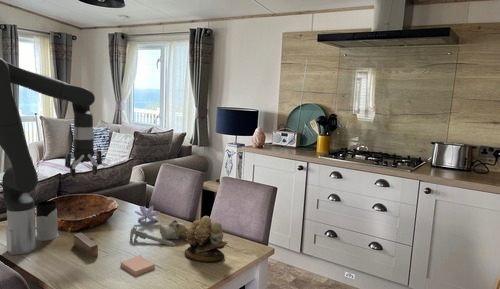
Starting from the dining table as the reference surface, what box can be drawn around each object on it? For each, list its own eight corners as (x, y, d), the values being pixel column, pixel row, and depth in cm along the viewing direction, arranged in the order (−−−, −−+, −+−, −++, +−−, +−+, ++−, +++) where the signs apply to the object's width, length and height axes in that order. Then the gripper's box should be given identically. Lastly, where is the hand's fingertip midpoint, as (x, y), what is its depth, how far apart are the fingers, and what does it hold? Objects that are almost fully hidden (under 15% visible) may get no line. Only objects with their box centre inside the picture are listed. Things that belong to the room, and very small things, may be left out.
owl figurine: (231, 254, 153) (233, 214, 150) (220, 266, 141) (222, 223, 139) (191, 246, 158) (193, 208, 156) (178, 258, 147) (179, 216, 145)
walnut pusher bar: (90, 259, 143) (90, 246, 142) (73, 245, 153) (73, 234, 153) (97, 257, 145) (97, 244, 144) (81, 244, 156) (81, 232, 155)
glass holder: (51, 241, 156) (50, 206, 154) (18, 239, 156) (17, 204, 154) (62, 233, 165) (61, 200, 163) (31, 231, 165) (29, 198, 163)
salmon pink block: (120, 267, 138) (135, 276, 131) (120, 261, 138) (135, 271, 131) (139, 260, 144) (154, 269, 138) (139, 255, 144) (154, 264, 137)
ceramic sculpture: (157, 216, 167) (190, 216, 173) (156, 235, 168) (188, 233, 174) (161, 225, 157) (196, 224, 163) (160, 244, 158) (194, 242, 164)
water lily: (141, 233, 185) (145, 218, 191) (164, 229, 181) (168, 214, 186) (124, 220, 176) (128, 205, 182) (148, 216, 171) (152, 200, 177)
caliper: (129, 240, 161) (129, 226, 160) (131, 239, 162) (131, 225, 162) (175, 246, 158) (175, 232, 157) (176, 245, 159) (176, 231, 158)
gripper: (69, 139, 145) (70, 180, 147) (104, 137, 155) (104, 175, 157) (61, 137, 150) (62, 176, 152) (96, 135, 160) (96, 172, 162)
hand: (84, 176), depth 155 cm, fingers open, 8 cm apart
